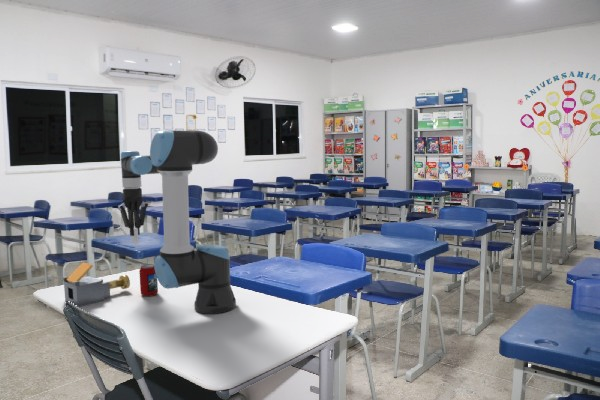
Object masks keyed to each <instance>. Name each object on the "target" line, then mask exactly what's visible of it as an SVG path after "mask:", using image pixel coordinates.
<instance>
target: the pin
mask: <svg viewBox="0 0 600 400" xmlns="http://www.w3.org/2000/svg"><path fill="white" fill-rule="evenodd" d="M130 280H131V279H130V277H129V276H128V275H127V274H123V275H120V276H119V278H118V279H113V280H110V281H108V282H109V283H110V290H113V289H117V288H121V289H122V290H126V289H130V285H131V281H130Z"/></svg>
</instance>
